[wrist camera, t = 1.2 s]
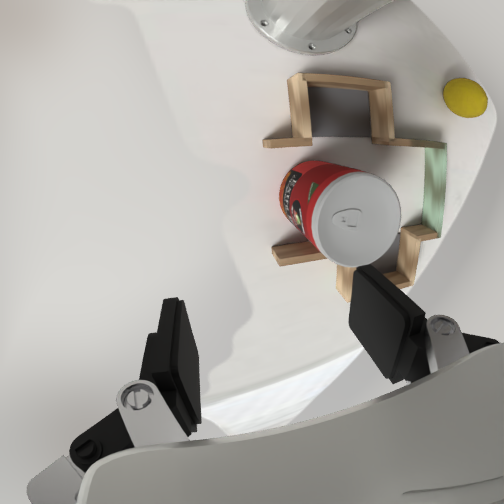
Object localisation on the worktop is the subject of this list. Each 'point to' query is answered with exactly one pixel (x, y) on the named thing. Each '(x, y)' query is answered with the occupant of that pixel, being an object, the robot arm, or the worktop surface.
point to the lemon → (465, 97)
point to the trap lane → (382, 128)
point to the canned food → (341, 211)
